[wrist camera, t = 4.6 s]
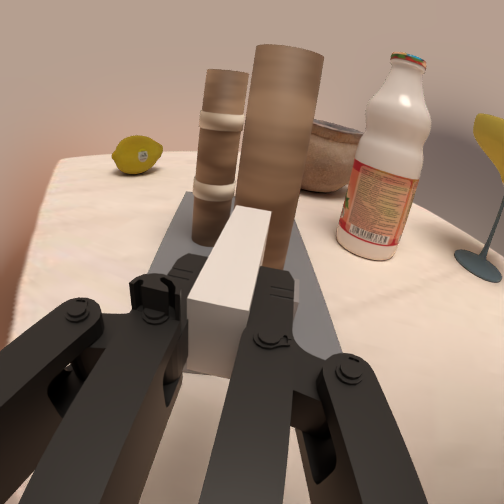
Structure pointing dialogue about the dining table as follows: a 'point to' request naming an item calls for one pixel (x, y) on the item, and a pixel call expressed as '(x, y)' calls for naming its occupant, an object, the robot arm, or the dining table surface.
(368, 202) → the fruit juice
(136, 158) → the lemon
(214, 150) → the banded post middle
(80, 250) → the dining table surface
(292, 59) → the plain post
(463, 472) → the dining table surface
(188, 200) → the board
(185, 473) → the dining table surface
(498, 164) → the cocktail glass
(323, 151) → the ceramic bowl
